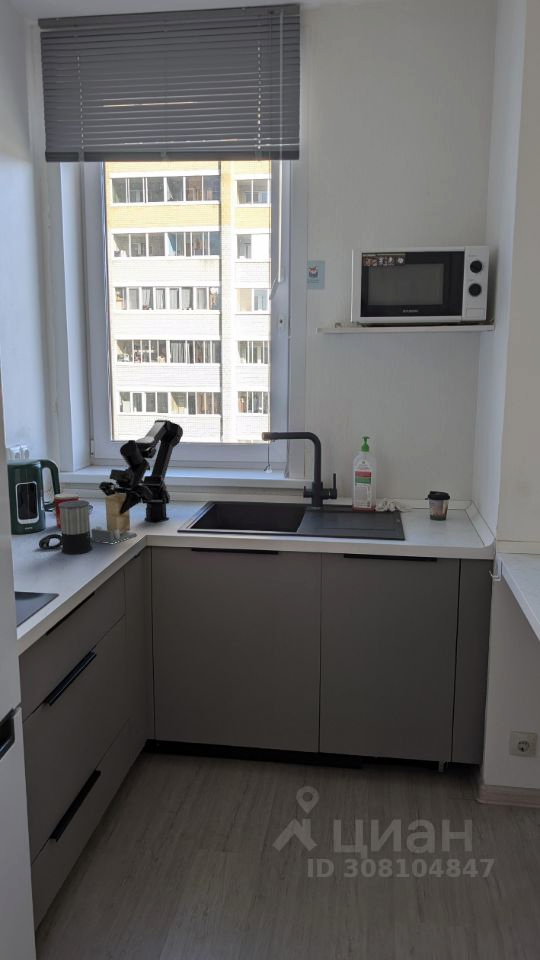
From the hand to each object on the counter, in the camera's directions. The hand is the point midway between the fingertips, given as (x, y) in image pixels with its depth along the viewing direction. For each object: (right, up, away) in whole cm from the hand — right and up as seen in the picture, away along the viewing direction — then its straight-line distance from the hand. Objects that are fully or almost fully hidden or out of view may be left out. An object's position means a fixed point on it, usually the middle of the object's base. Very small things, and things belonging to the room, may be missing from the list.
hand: (114, 512), depth 241 cm
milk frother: (-13, -11, -11) cm, 20 cm away
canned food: (-20, -6, +18) cm, 27 cm away
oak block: (+1, -6, +3) cm, 7 cm away
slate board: (0, -8, +1) cm, 8 cm away
